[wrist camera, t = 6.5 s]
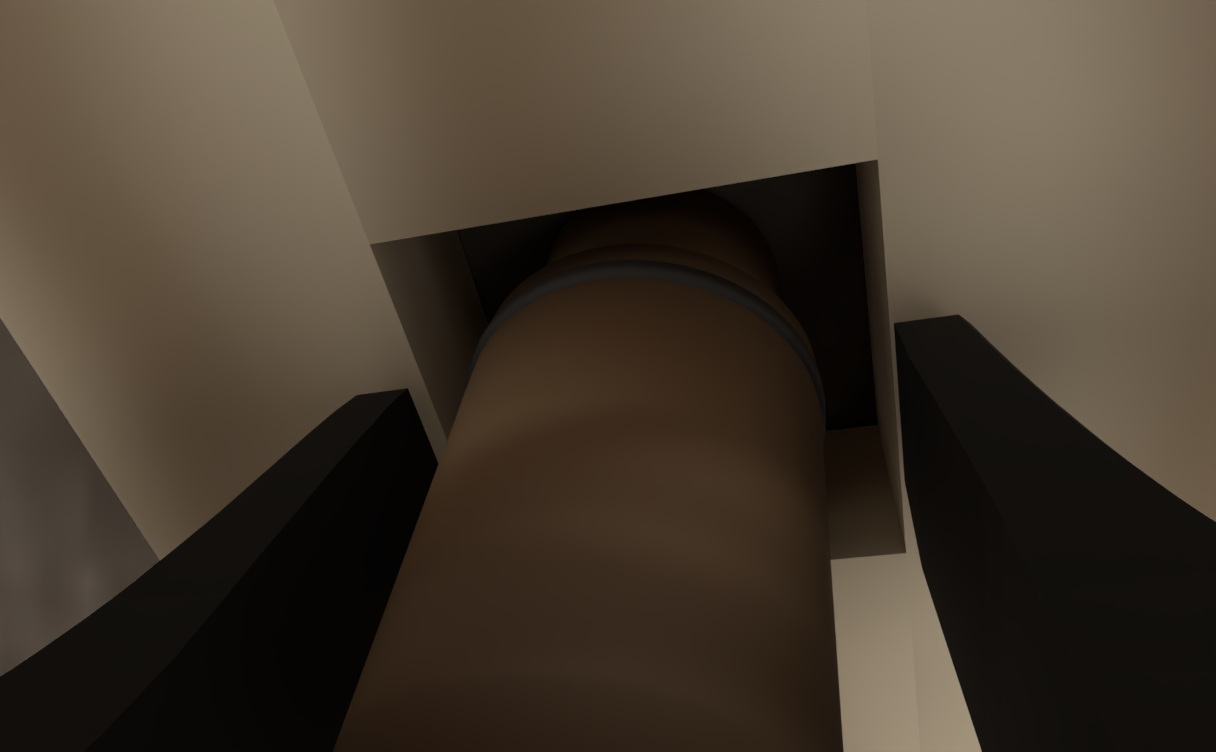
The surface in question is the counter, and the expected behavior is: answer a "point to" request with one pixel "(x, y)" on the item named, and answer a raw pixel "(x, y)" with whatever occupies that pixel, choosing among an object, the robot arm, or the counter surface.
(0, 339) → the counter surface
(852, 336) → the counter surface
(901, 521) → the board
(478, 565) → the peg
